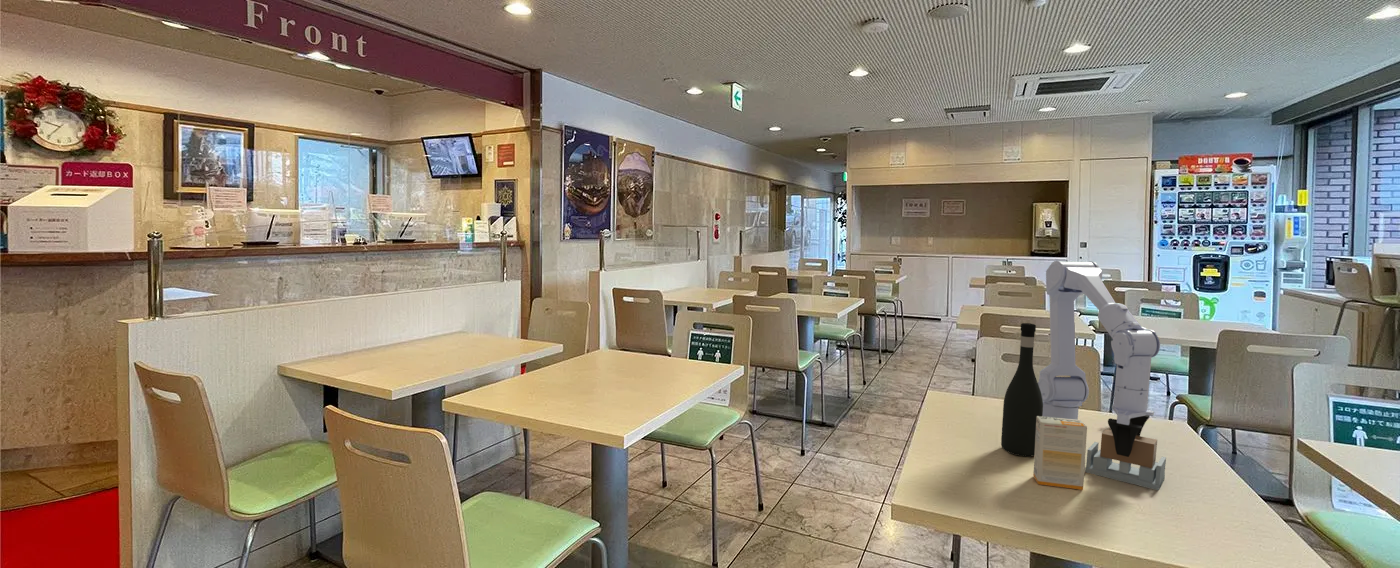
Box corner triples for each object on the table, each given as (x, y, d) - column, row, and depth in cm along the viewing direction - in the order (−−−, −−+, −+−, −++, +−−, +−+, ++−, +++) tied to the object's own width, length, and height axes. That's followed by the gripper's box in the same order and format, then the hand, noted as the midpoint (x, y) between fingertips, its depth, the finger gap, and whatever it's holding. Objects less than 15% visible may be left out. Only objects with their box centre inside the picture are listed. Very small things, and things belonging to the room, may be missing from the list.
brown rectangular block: (1100, 456, 129) (1101, 433, 128) (1104, 451, 132) (1105, 429, 131) (1152, 468, 123) (1154, 444, 122) (1155, 463, 125) (1157, 439, 125)
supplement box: (1077, 481, 124) (1081, 419, 123) (1083, 491, 119) (1088, 426, 118) (1031, 475, 127) (1036, 414, 125) (1036, 484, 122) (1040, 421, 121)
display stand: (1085, 472, 129) (1086, 450, 129) (1093, 462, 135) (1095, 441, 134) (1158, 490, 120) (1160, 467, 120) (1164, 479, 126) (1166, 456, 126)
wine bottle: (1012, 443, 146) (1020, 320, 144) (1046, 453, 140) (1055, 324, 137) (993, 449, 142) (1001, 322, 139) (1027, 460, 135) (1036, 327, 132)
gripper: (1149, 397, 118) (1144, 465, 119) (1160, 384, 128) (1155, 447, 130) (1106, 390, 123) (1101, 455, 124) (1120, 378, 133) (1116, 438, 134)
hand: (1126, 450), depth 127 cm, fingers open, 7 cm apart
